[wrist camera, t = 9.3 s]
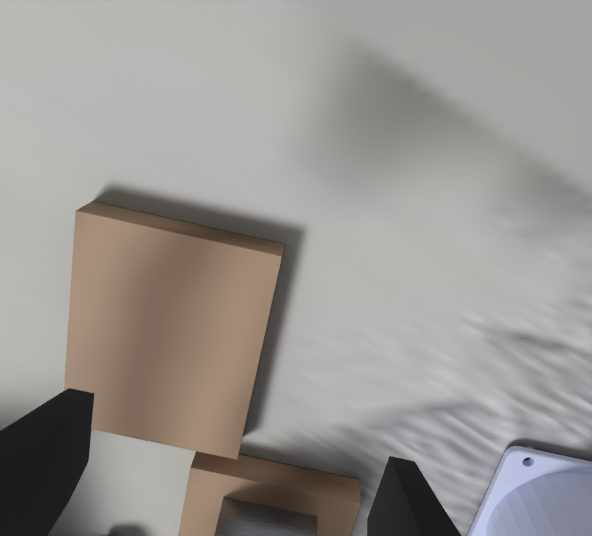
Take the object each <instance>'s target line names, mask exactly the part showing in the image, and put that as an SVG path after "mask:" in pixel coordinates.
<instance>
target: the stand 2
mask: <svg viewBox="0 0 592 536" xmlns="http://www.w3.org/2000/svg"><path fill="white" fill-rule="evenodd" d="M223 497H228V498H233V499H238V500H242V501H247V502H252V503H257V504H261V505H266V506H271V507H276V508H280V509H285V510H290V511H295V512H299V513H304V514H309V515H313V516H317V536H350V534H351V531H352V528H353V525H354V522H355V519H356V516H357V513H358V511H359V508H360V505H361V498H360V486H359V480H358V479H353V478H349V477H344V476H339V475H334V474H330V473H325V472H320V471H315V470H311V469H306V468H301V467H296V466H292V465H287V464H282V463H278V462H273V461H268V460H263V459H259V458H254V457H249V456H244V455H240V454H238V459H237V460H236V459H231V458H227V457H222V456H217V455H212V454H208V453H203V452H198V451H196V453H195V456H194V459H193V462H192V465H191V469H190V474H189V480H188V485H187V491H186V496H185V502H184V507H183V513H182V519H181V524H180V530H179V535H178V536H214V534H215V530H216V526H217V522H218V517H219V513H220V509H221V505H222V501H223Z"/></svg>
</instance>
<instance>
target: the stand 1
mask: <svg viewBox="0 0 592 536" xmlns="http://www.w3.org/2000/svg"><path fill="white" fill-rule="evenodd" d="M284 246H285V244H282V243H277V242H273V241H268V240H264V239H259V238H255V237H250V236H246V235H241V234H237V233H232V232H228V231H223V230H219V229H214V228H210V227H205V226H201V225H196V224H192V223H187V222H183V221H178V220H174V219H169V218H165V217H160V216H156V215H151V214H147V213H142V212H138V211H133V210H129V209H124V208H120V207H115V206H111V205H106V204H102V203H97V202H93V201H92V202H90V203H89V204H87V205H85V206H83V207H82V208H80V209H78V210H76V216H75V232H74V247H73V263H72V278H71V294H70V309H69V324H68V340H67V355H66V371H65V386H64V391H65V390H67V389H68V388H72V389H76V390H81V391H86V392H90V393H94V403H93V415H92V426H91V429H94V430H99V431H103V432H108V433H113V434H118V435H122V436H127V437H132V438H137V439H141V440H146V441H151V442H156V443H160V444H165V445H170V446H175V447H179V448H184V449H189V450H193V451H198V452H203V453H208V454H212V455H217V456H222V457H227V458H231V459H236V460H237V459H238V454H239V450H240V445H241V441H242V436H243V432H244V427H245V423H246V418H247V414H248V409H249V405H250V400H251V396H252V391H253V386H254V382H255V377H256V373H257V368H258V364H259V359H260V355H261V350H262V346H263V341H264V336H265V332H266V327H267V323H268V318H269V314H270V309H271V305H272V300H273V296H274V291H275V286H276V282H277V277H278V273H279V268H280V264H281V259H282V255H283V250H284Z"/></svg>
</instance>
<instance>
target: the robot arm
mask: <svg viewBox="0 0 592 536" xmlns="http://www.w3.org/2000/svg"><path fill="white" fill-rule="evenodd" d="M93 403H94V393H90V392H86V391H81V390H76V389H72V388H68V389H67V390H65V391H63V392H62V393H60V394H58V395H57V396H55V397H54V398H52V399H50V400H49V401H47V402H46V403H44V404H43V405H41V406H39V407H38V408H36V409H35V410H33V411H32V412H30V413H28V414H27V415H25V416H24V417H22V418H21V419H19V420H17V421H16V422H14V423H12V424H11V425H9V426H7V427H6V428H4V429H3V430H1V431H0V536H47V535H48V533H49V532H50V530H51V529H52V527H53V526H54V524H55V522H56V521H57V519H58V518H59V516H60V514H61V513H62V511H63V510H64V508H65V507H66V505H67V503H68V502H69V500H70V498H71V496H72V494H73V492H74V490H75V488H76V486H77V484H78V482H79V480H80V478H81V475H82V473H83V471H84V469H85V467H86V465H87V463H88V459H89V448H90V437H91V426H92V415H93ZM525 458H530V459H529V460H526V461H523V460H524V459H525ZM367 536H461V534H460V533H459V531H458V530H457V528H456V527H455V525H454V524H453V522H452V521H451V519H450V518H449V516H448V515H447V513H446V512H445V510H444V508H443V507H442V505H441V504H440V502H439V500H438V499H437V497H436V496H435V494H434V492H433V491H432V489H431V487H430V486H429V484H428V483H427V481H426V479H425V478H424V476H423V474H422V473H421V471H420V470H419V468H418V466H417V465H416V463H415V462H414V461H410V460H405V459H401V458H396V457H391V456H390V457H389V460H388V463H387V465H386V468H385V471H384V474H383V477H382V480H381V482H380V485H379V488H378V491H377V494H376V497H375V499H374V502H373V505H372V508H371V511H370V514H369V516H368V519H367ZM467 536H592V462H591V461H586V460H581V459H577V458H572V457H567V456H563V455H558V454H554V453H549V452H544V451H540V450H535V449H530V448H526V447H521V446H513V447H510V448H508V449H507V450H506V451H505V453H504V455H503V457H502V460H501V462H500V464H499V466H498V468H497V471H496V473H495V475H494V477H493V480H492V482H491V484H490V486H489V488H488V491H487V493H486V495H485V497H484V500H483V502H482V504H481V506H480V508H479V511H478V513H477V515H476V517H475V519H474V522H473V524H472V526H471V528H470V531H469V533H468V535H467Z"/></svg>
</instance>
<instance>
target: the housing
mask: <svg viewBox="0 0 592 536" xmlns="http://www.w3.org/2000/svg"><path fill="white" fill-rule="evenodd" d="M214 536H317V516H313V515H309V514H304V513H299V512H295V511H290V510H285V509H280V508H276V507H271V506H266V505H261V504H257V503H252V502H247V501H242V500H238V499H233V498H228V497H223V501H222V505H221V509H220V513H219V517H218V522H217V526H216V530H215V534H214Z"/></svg>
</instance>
